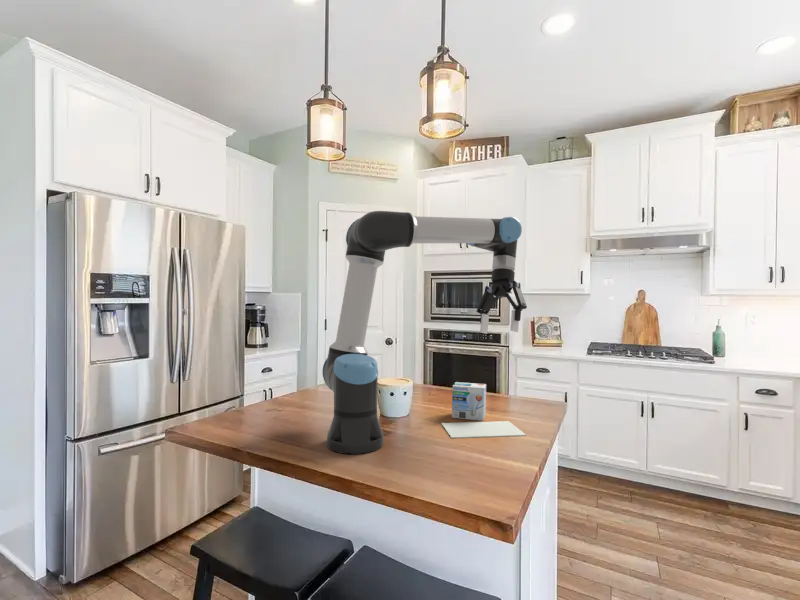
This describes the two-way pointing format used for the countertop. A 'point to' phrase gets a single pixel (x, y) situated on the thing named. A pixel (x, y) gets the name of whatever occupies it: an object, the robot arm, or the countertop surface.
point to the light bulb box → (469, 401)
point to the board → (482, 429)
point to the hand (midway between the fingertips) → (498, 332)
